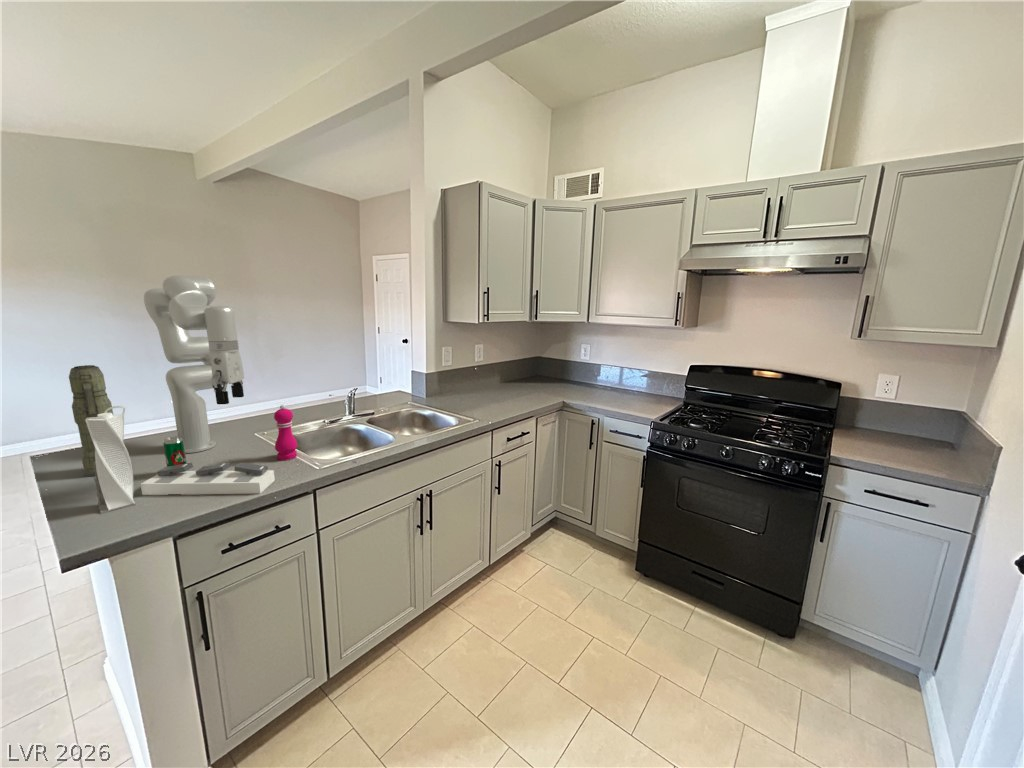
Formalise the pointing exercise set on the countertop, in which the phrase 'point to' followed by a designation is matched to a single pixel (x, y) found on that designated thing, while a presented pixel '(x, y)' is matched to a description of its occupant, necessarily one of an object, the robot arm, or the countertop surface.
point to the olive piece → (88, 406)
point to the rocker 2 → (251, 468)
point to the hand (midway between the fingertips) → (231, 400)
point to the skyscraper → (111, 461)
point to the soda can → (174, 451)
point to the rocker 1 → (174, 469)
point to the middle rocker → (212, 469)
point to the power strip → (208, 483)
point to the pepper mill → (285, 434)
